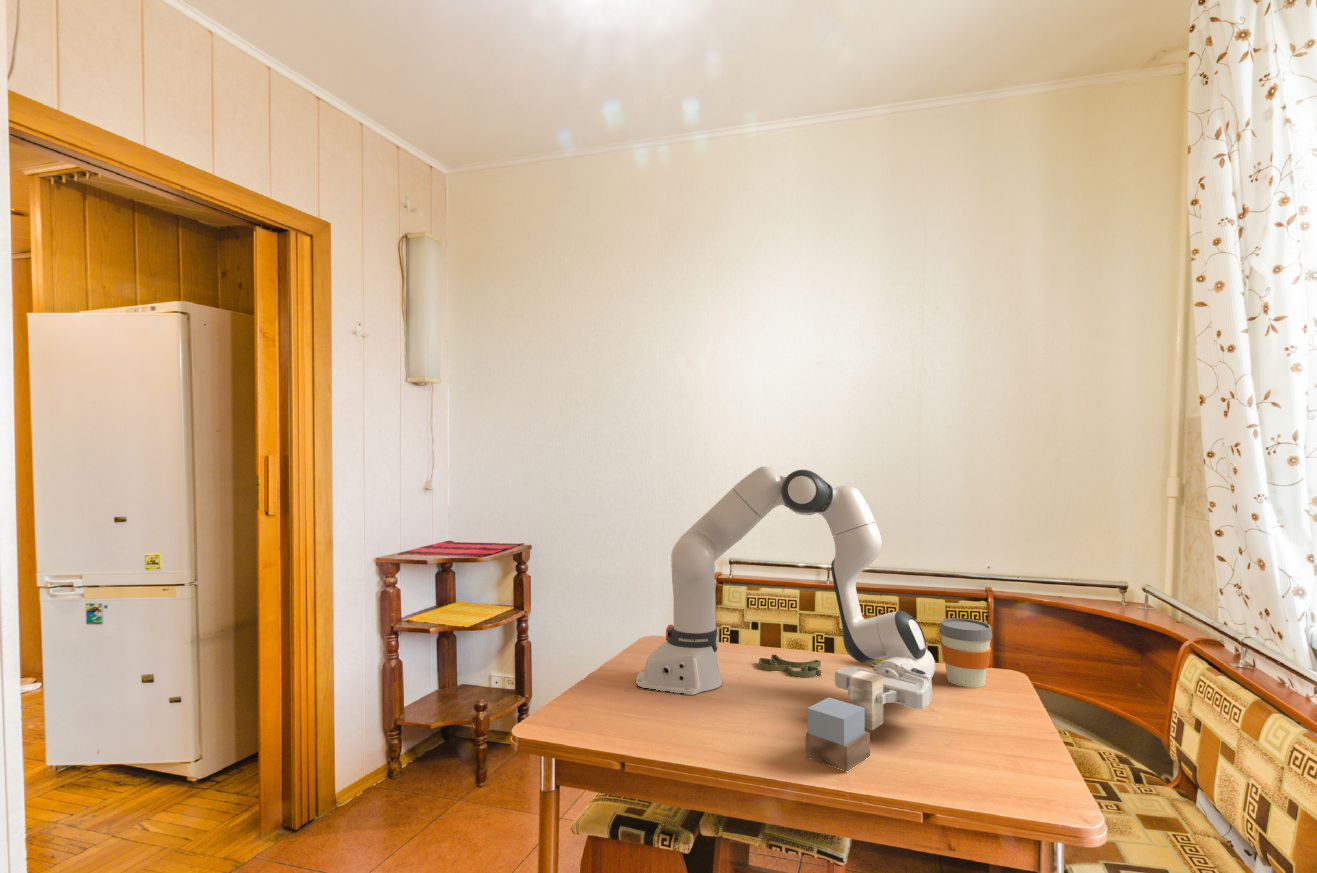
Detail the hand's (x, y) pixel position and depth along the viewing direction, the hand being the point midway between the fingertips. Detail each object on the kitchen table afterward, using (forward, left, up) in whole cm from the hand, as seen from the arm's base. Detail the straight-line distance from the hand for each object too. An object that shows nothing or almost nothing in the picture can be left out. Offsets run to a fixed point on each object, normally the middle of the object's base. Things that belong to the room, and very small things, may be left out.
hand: (864, 695), depth 142 cm
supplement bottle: (+11, +50, -9) cm, 52 cm away
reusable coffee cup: (+31, +40, -9) cm, 51 cm away
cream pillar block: (+1, +1, -6) cm, 6 cm away
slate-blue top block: (-7, -10, -4) cm, 13 cm away
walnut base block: (-6, -10, -9) cm, 15 cm away
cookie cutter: (-14, +43, -10) cm, 46 cm away
